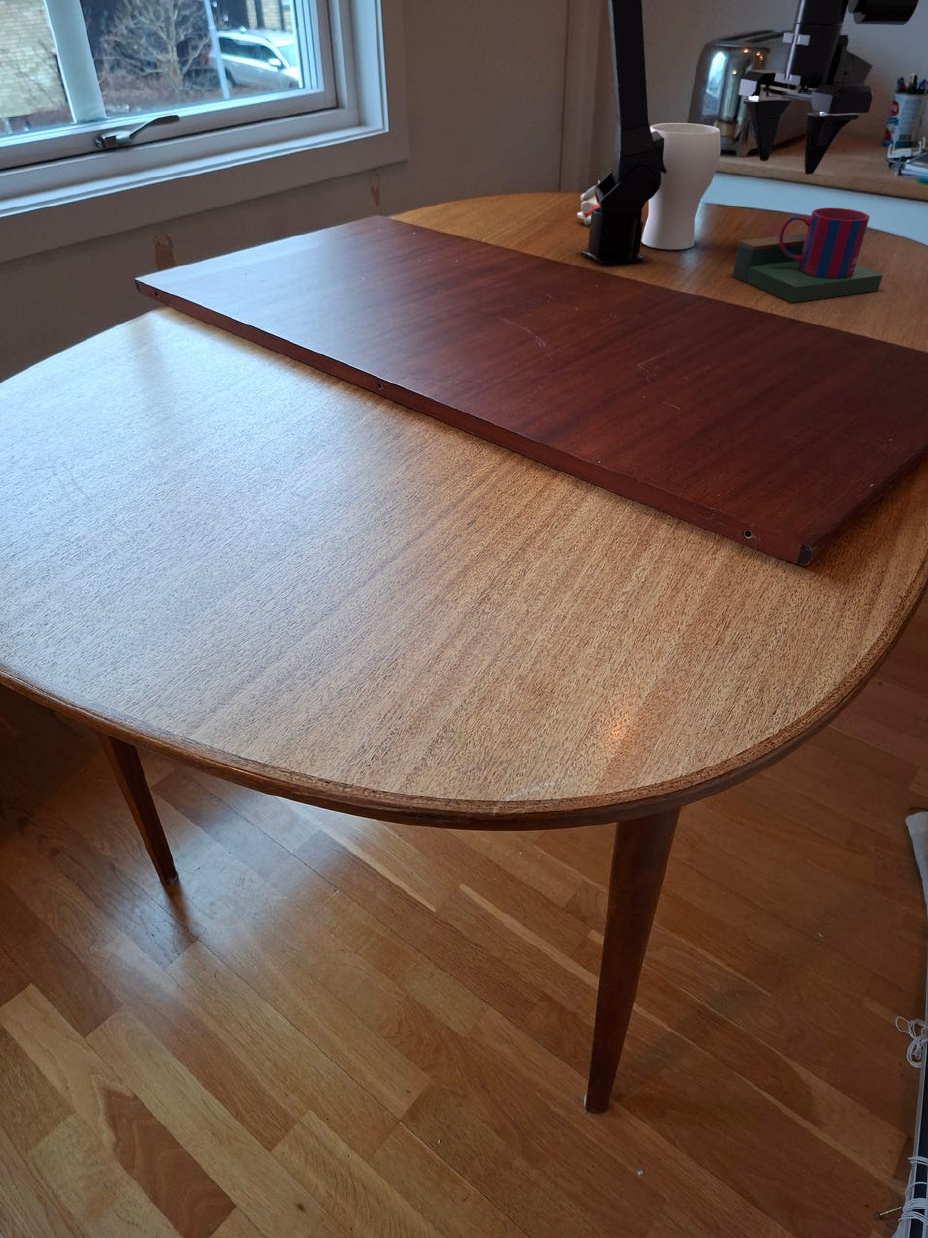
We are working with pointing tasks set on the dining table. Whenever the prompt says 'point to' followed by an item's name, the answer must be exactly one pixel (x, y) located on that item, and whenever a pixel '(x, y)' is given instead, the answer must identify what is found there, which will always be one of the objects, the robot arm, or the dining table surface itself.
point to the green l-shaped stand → (794, 272)
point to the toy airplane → (588, 205)
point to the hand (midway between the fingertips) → (785, 166)
